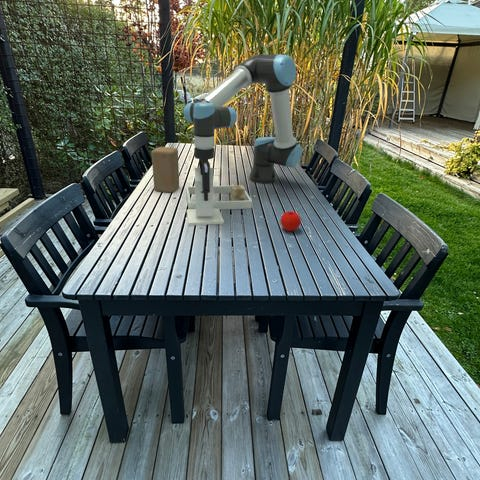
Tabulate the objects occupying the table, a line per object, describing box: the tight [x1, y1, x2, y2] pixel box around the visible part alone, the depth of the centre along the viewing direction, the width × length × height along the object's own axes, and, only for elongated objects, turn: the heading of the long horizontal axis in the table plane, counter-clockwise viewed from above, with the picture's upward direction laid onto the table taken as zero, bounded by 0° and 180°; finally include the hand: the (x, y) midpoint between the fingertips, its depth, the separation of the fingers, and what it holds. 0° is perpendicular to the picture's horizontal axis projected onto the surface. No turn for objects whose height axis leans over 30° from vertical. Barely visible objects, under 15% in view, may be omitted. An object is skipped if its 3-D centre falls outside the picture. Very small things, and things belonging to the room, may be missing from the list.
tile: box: [186, 208, 225, 226], centre depth 140 cm, size 14×14×1 cm
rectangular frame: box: [185, 184, 253, 211], centre depth 157 cm, size 28×22×4 cm
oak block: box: [229, 184, 246, 201], centre depth 153 cm, size 5×5×8 cm
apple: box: [280, 211, 302, 232], centre depth 131 cm, size 8×8×7 cm
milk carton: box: [194, 167, 214, 216], centre depth 135 cm, size 7×7×19 cm
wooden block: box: [150, 146, 180, 194], centre depth 164 cm, size 10×10×20 cm
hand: (204, 203), depth 137 cm, fingers closed on milk carton, 7 cm apart
